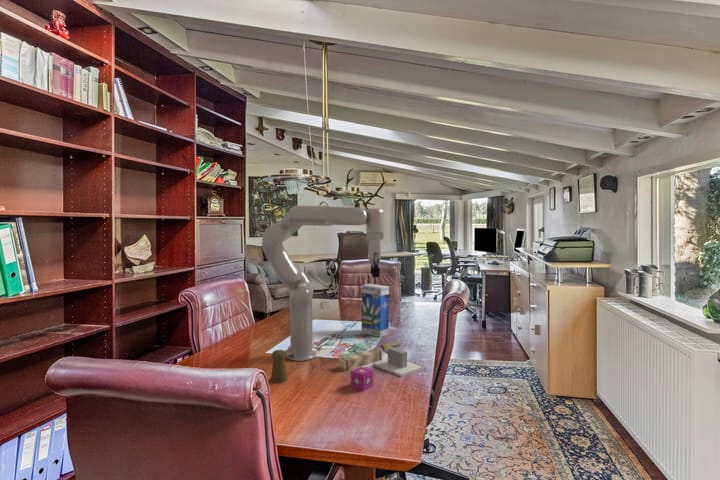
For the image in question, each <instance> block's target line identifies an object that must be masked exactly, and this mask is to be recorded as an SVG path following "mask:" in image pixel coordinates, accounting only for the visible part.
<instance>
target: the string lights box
mask: <svg viewBox="0 0 720 480" xmlns="http://www.w3.org/2000/svg"><path fill="white" fill-rule="evenodd" d="M389 304H390V286H388V285H382V284H377V283H375V284H373V283H367V284H366V283H365V284H361V333H362V334H366V335H370V336H374V337H379V338H382V337H385V336H389V318H390V317H389V314H390V313H389V309H390V307H389V306H390V305H389Z"/></svg>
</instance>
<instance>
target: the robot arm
mask: <svg viewBox="0 0 720 480" xmlns="http://www.w3.org/2000/svg"><path fill="white" fill-rule="evenodd" d="M362 225H365V227H366V229H365V230H366V233H365V235H366V239H365V240H366V241H368V254H367V255H368V261H367V262H368V263H369V264H370V274H371V277H372V278H380V277H381V275H380V274H381V271H380V270H381V268H380V263H381V258H382V257H381V255H382V242H381V241H384V240H385V239H384V236H385V235H384V234H385V233H384V210H383V209H382V208H368V209H365V208H362V207H354V206H353V207H349V206H328V205H326V206H325V205H324V206H323V205H294V206H292V207H291V208H290V209H289V210H288V212H287V214H286V215H285V216H284V217H283V218H282V219H280V220H279V221H278V222H276V223H273V224H271V225H268V227H267V228H266V230H265V231H264V233H263V235H262V238H261V245H262V246H261V247H262V250H263V251H262V252H263V253H264V254H265V255H264V256H265V257H266V259H267V261H268V262H269V263H270V265H271V268H272V269H273V271H274V272H275V274H276V276H277V278H278V280H279V281H280V282H281V283H282V284H283V285H285V286H287V288H288V289H289V291H290V293H289V321H290V322H289V325H290V328H289V329H290V330H289V331H290V332H289V333H290V337H289V339H290V340H289V341H290V342H289V344H290V346H288V347H287V349H286V350H284V351H285V352H286V358H287V359H288V360H290V361H293V362H294V361H296V362H302V361H303V362H304V361H305V362H306V361H310V360H313V359H314V358H315V357H316V356H317V352H316V351H314V349H313V296H314V289H313V286H312V284H311V283H310V280H309V279H308V277H307V276H306V274H305V273H304V271H303V270H302V268H301V266H300V265H299V264H298V263H297V262H295V261H292V258H291V256H289V253H288V252H287V250H286V249H285V247H284V245H283V242H285V241H287V240H288V239H289V238H291V236H293V235H294V234H295V233H296V232H297V231H298V230H300V229H301V228H302V227H303V226H314V227H315V226H318V227H319V226H321V227H323V226H325V227H330V226H362Z"/></svg>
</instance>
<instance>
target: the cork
mask: <svg viewBox="0 0 720 480" xmlns="http://www.w3.org/2000/svg"><path fill="white" fill-rule="evenodd" d="M286 358H287V356H286V352H285V351H284V350H283V349H276V350H273V351H272V353H271V359H272V369H271V375H270V376H271V377H270V382H271V383H273V384H282V383H283V384H284V383H285V382H288V375H287V367H286V360H285V359H286Z"/></svg>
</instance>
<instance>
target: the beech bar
mask: <svg viewBox="0 0 720 480" xmlns="http://www.w3.org/2000/svg"><path fill="white" fill-rule="evenodd" d="M381 360H383V350H381V349H378V348H373V349H370V350H366V351H363V352H360V353H356V354H352V355H348V356H344V357H340V358H339V359H338V369H339V370H340V371H343V372H348V371H352V370H355V369H357V368H360V367H361V366H362V367H364V365H365V366H368V365H371V364H373V363H374V362H377V361H381ZM354 368H355V369H354ZM351 369H352V370H351Z"/></svg>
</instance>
